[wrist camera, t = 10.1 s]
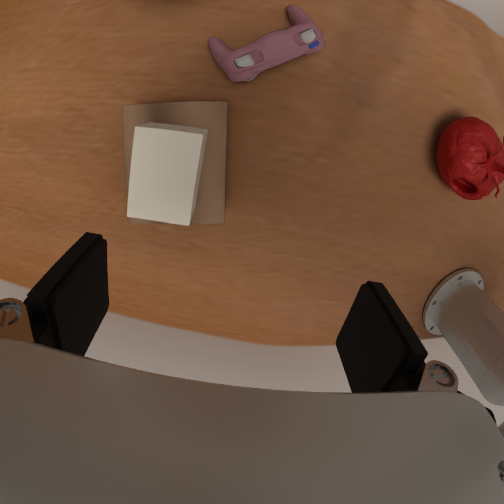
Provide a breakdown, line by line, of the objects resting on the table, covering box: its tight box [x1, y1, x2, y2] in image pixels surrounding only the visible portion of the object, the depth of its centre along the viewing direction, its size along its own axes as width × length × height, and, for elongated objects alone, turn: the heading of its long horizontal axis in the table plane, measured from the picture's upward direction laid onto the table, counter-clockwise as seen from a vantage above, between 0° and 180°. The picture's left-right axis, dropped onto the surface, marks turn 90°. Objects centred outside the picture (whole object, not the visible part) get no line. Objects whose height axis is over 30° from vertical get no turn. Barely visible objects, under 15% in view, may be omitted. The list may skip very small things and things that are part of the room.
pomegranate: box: [437, 117, 504, 200], centre depth 26 cm, size 10×10×9 cm
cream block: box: [127, 122, 208, 226], centre depth 23 cm, size 5×7×4 cm
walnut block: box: [123, 101, 228, 224], centre depth 27 cm, size 9×11×5 cm
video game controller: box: [208, 4, 325, 82], centre depth 22 cm, size 10×5×7 cm, turn 117°
